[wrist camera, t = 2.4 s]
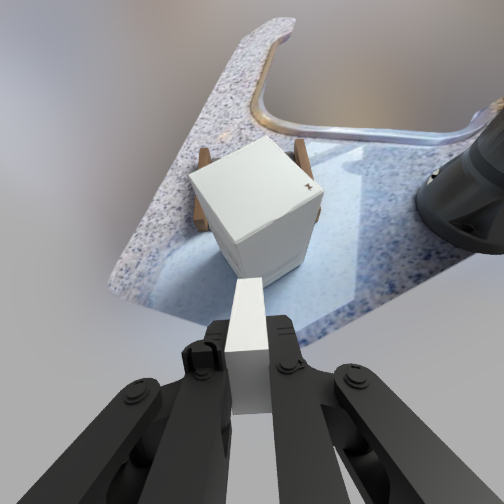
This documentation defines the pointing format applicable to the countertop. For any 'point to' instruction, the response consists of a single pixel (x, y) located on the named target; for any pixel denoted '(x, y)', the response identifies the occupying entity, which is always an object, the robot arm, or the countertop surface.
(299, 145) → the rails
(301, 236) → the supplement box
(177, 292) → the countertop surface
